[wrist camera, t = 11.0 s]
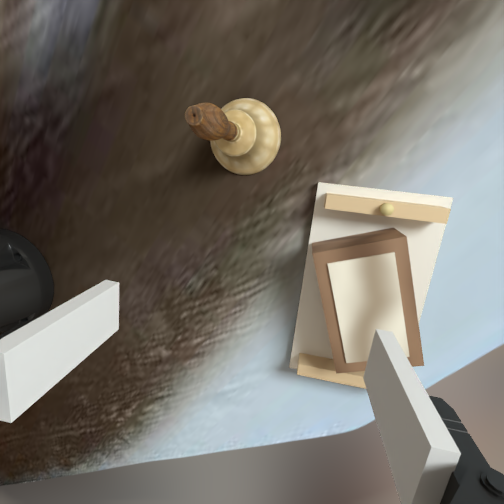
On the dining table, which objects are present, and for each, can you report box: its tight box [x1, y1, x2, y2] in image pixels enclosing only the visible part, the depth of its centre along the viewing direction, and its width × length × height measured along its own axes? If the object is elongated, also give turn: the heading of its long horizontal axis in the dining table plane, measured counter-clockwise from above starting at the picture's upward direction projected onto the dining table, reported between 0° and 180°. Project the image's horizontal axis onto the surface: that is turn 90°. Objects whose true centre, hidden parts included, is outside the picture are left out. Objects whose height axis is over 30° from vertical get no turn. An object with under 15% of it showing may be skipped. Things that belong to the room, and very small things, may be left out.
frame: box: [312, 227, 424, 374], centre depth 34 cm, size 9×14×5 cm, turn 13°
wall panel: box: [289, 182, 453, 389], centre depth 36 cm, size 14×24×4 cm, turn 174°
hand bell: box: [185, 98, 281, 175], centre depth 28 cm, size 8×8×16 cm
